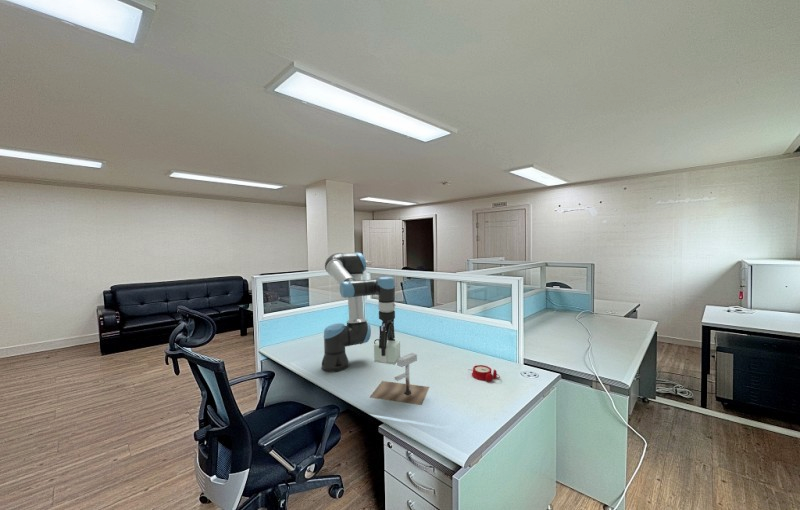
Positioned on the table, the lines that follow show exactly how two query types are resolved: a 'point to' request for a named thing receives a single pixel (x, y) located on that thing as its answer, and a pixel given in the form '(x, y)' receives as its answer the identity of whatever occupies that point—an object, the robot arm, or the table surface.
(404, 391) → the board
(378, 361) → the pale green block
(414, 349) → the table surface
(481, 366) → the alarm clock
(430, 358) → the table surface
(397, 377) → the grey t-shaped stand
